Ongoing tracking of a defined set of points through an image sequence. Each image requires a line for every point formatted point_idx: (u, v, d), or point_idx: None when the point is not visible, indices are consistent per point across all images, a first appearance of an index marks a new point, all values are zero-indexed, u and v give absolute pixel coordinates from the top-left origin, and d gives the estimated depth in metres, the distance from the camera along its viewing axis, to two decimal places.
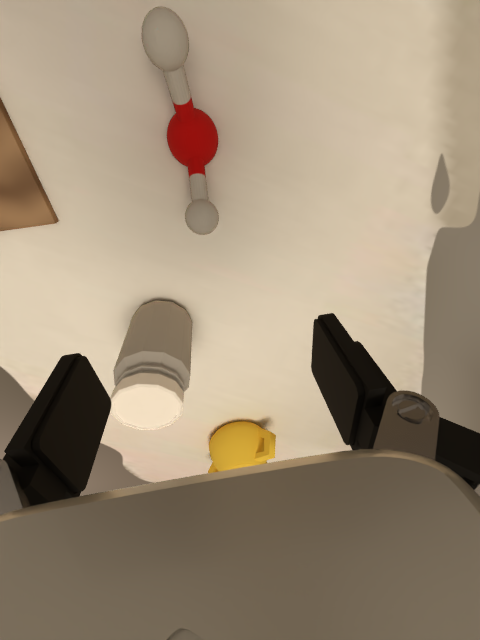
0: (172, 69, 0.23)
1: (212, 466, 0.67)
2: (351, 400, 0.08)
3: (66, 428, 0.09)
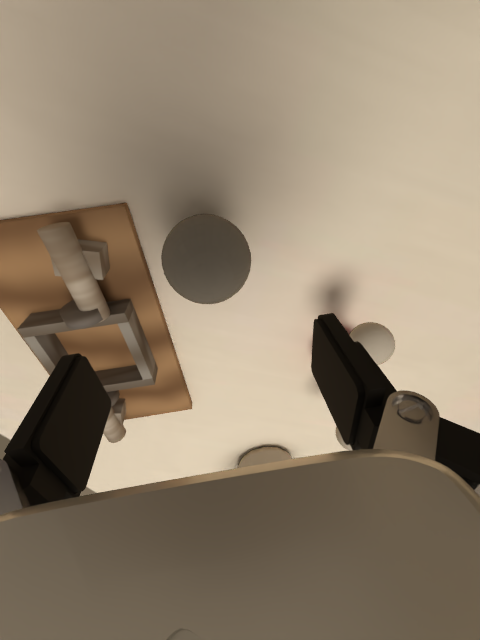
0: None
1: None
2: (351, 400, 0.08)
3: (66, 428, 0.09)
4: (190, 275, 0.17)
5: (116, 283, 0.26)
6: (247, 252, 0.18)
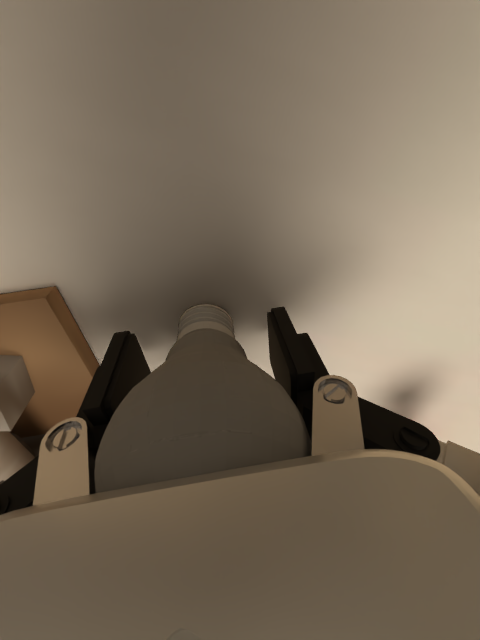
0: None
1: None
2: (288, 385, 0.09)
3: (126, 395, 0.10)
4: None
5: (50, 410, 0.15)
6: None
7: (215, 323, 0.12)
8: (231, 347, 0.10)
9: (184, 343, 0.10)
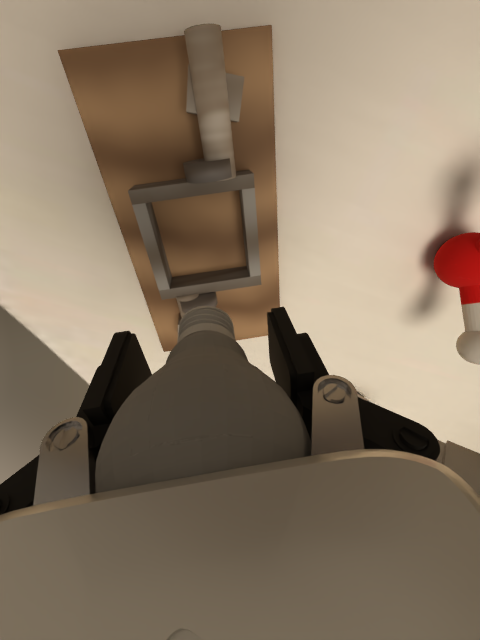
0: None
1: None
2: (288, 385, 0.09)
3: (126, 395, 0.10)
4: None
5: (238, 145, 0.22)
6: None
7: (216, 325, 0.12)
8: (232, 349, 0.10)
9: (185, 345, 0.10)
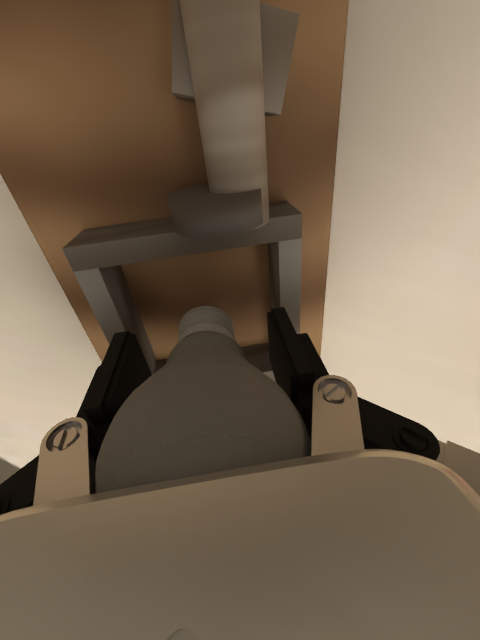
0: None
1: None
2: (288, 385, 0.09)
3: (126, 395, 0.10)
4: None
5: (270, 159, 0.12)
6: None
7: (216, 325, 0.12)
8: (232, 349, 0.10)
9: (185, 345, 0.10)
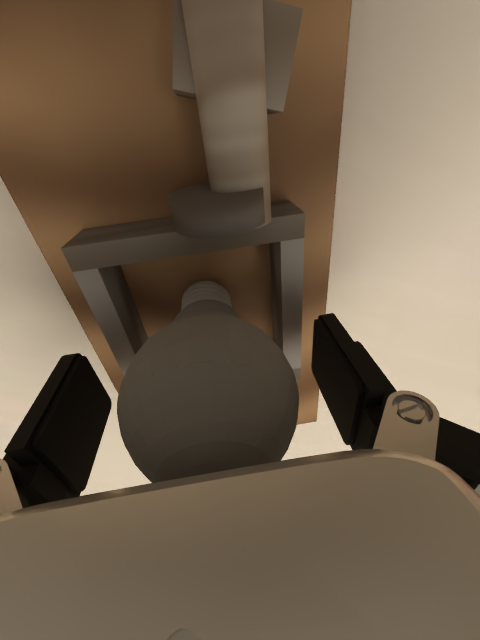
0: None
1: None
2: (351, 400, 0.08)
3: (66, 428, 0.09)
4: None
5: (272, 158, 0.12)
6: (296, 400, 0.09)
7: (216, 296, 0.13)
8: (230, 313, 0.12)
9: (189, 309, 0.12)
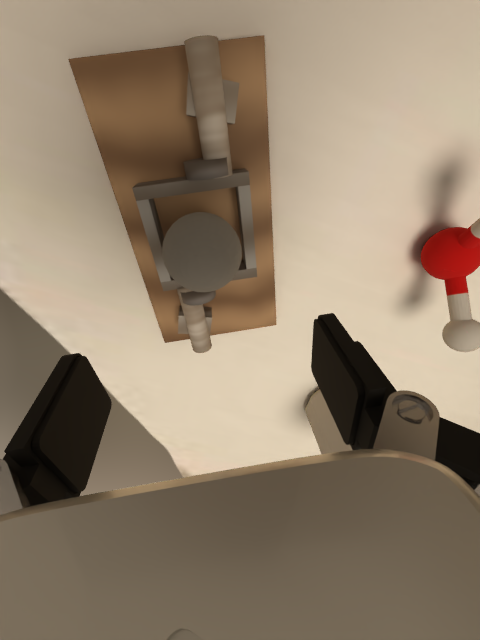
0: None
1: None
2: (351, 400, 0.08)
3: (66, 428, 0.09)
4: (187, 264, 0.19)
5: (234, 145, 0.24)
6: (238, 246, 0.20)
7: None
8: None
9: None
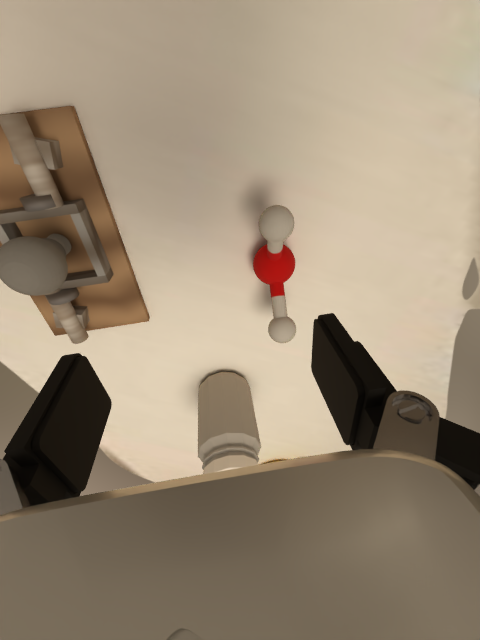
0: None
1: None
2: (351, 400, 0.08)
3: (66, 428, 0.09)
4: (6, 276, 0.26)
5: (70, 182, 0.31)
6: (53, 261, 0.28)
7: (55, 238, 0.32)
8: (51, 241, 0.30)
9: None
